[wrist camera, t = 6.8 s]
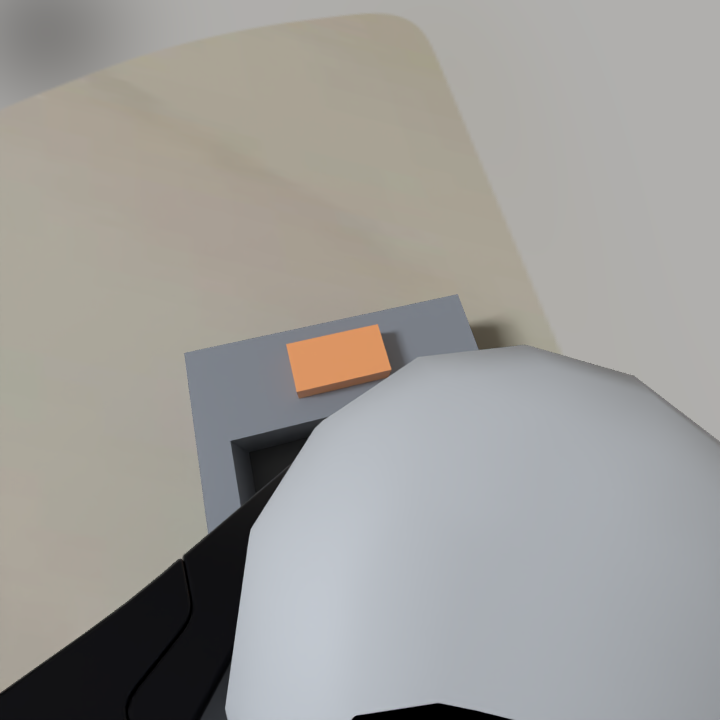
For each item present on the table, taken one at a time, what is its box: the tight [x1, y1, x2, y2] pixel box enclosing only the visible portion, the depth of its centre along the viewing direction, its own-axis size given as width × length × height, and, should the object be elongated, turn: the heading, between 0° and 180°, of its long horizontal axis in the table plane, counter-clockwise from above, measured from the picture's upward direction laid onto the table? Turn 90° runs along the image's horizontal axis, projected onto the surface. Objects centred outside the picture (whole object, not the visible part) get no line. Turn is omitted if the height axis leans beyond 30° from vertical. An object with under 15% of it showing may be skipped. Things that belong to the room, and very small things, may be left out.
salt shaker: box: [225, 345, 720, 720], centre depth 8 cm, size 6×6×13 cm
